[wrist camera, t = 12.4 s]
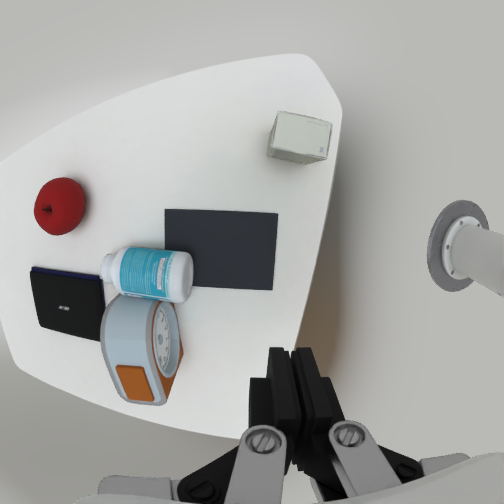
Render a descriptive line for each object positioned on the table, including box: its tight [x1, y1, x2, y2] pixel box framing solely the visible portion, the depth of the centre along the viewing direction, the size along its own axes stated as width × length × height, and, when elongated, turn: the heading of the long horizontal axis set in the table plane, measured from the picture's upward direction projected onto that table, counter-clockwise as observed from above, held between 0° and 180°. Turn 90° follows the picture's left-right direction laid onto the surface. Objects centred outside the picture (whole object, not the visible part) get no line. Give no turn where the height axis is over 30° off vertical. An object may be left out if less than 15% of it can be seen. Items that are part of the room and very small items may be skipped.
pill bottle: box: [101, 247, 193, 303], centre depth 39 cm, size 8×7×14 cm
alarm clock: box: [100, 293, 183, 406], centre depth 39 cm, size 15×8×14 cm, turn 4°
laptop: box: [30, 267, 105, 342], centre depth 44 cm, size 16×20×2 cm
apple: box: [34, 177, 85, 235], centre depth 35 cm, size 9×9×10 cm
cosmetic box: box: [267, 111, 332, 164], centre depth 33 cm, size 6×4×12 cm
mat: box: [165, 209, 278, 290], centre depth 42 cm, size 17×12×1 cm
